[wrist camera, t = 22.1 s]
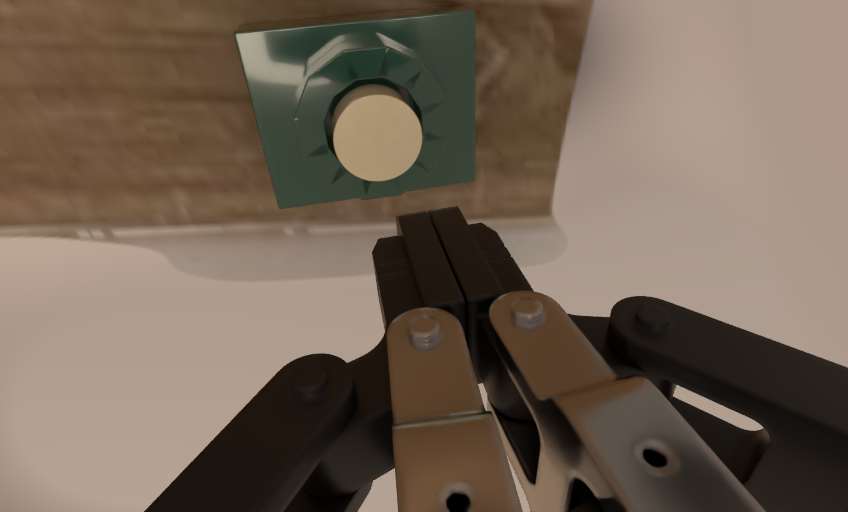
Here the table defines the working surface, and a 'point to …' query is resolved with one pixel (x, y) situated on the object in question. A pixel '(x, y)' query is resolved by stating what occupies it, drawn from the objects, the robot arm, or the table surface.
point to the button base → (353, 67)
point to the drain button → (376, 133)
